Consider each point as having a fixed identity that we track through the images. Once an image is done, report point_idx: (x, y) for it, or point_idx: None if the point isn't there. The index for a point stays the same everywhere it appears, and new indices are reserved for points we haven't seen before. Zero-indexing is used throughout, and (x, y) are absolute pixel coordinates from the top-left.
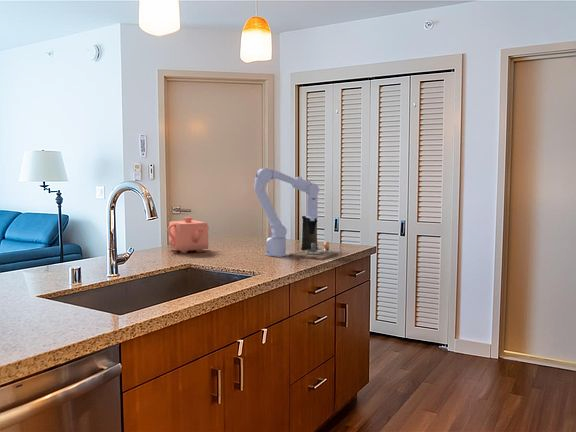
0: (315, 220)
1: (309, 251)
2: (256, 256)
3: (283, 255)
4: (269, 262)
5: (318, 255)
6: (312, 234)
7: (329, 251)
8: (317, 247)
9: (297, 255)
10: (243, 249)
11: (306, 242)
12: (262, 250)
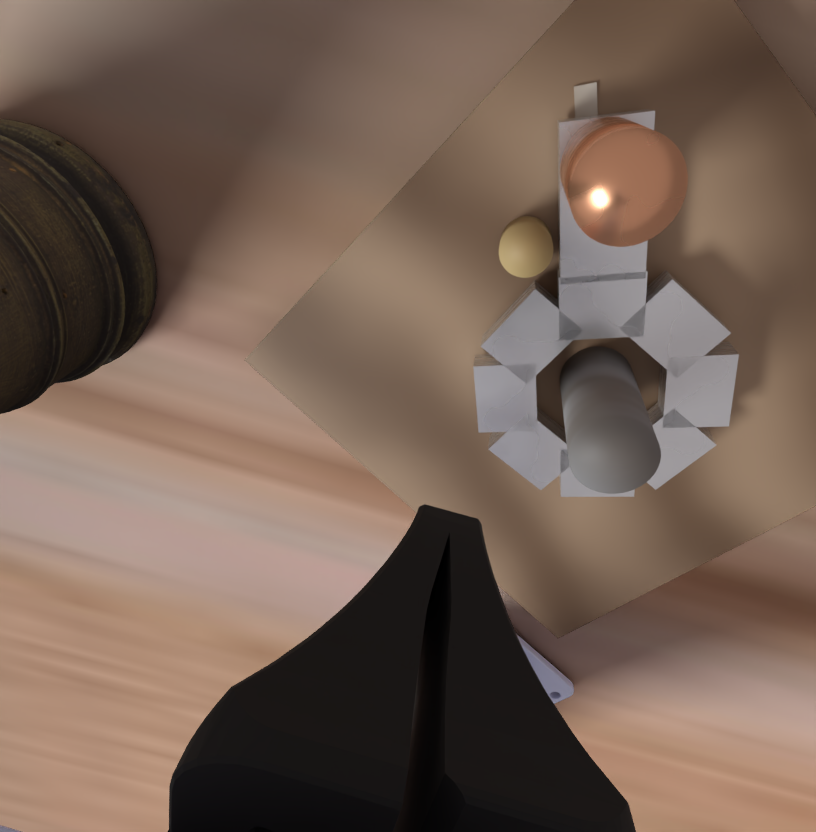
0: (390, 823)
1: None
2: None
3: (543, 665)
4: (805, 816)
5: (805, 374)
6: None
7: (650, 117)
8: (42, 145)
9: (655, 585)
10: (105, 763)
11: (70, 363)
12: (149, 682)
